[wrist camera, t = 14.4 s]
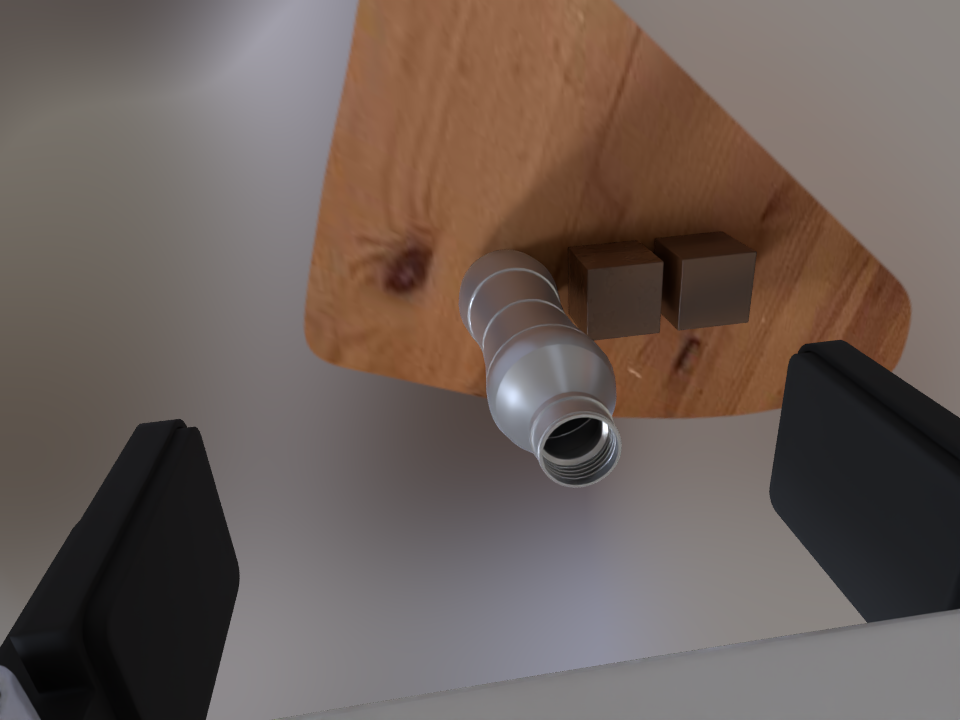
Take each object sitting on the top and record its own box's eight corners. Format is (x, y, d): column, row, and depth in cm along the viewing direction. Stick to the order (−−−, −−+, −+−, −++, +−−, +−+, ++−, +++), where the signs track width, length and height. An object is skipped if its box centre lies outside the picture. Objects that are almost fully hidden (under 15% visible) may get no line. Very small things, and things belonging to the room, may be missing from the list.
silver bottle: (527, 224, 45) (627, 353, 27) (562, 310, 48) (673, 479, 30) (438, 265, 45) (477, 421, 27) (479, 349, 48) (538, 537, 30)
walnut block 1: (567, 247, 46) (587, 269, 41) (637, 239, 46) (663, 261, 42) (568, 313, 48) (587, 341, 44) (634, 306, 48) (659, 333, 44)
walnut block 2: (654, 238, 46) (682, 259, 42) (722, 231, 47) (757, 251, 42) (651, 304, 48) (677, 331, 44) (716, 297, 49) (748, 322, 44)
